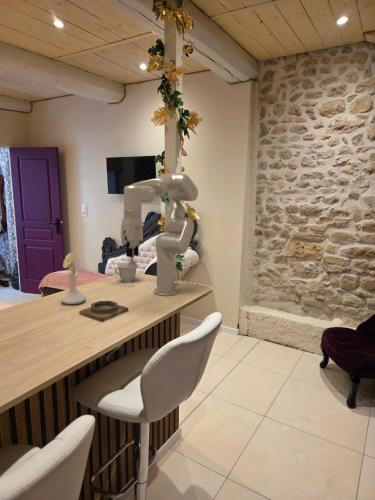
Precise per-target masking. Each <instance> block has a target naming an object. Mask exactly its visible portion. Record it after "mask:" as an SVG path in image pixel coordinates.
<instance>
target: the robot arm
mask: <svg viewBox="0 0 375 500" xmlns="http://www.w3.org/2000/svg"><path fill="white" fill-rule="evenodd" d="M166 194H167V198H168V201H169V207H170V208H169V211H168V215H167V217H166V220H165V223H164V226H163V230H164V232H165V233H160V234H159V235H157V236H156V238H155V249H156V288H154V289H153V294H155V295H157V296H162V297H163V296H167V297H168V296H169V297H170V296H173V295H176V294H178V289H176V287H178V286H179V284H180V283H179V282H178V281H177V282H176V260H175V256H174V255H173V254H177V255H183V254H186V252H187V251H188V249H189V245H190V243H191V240H192V236H193V234H194V229H195V223H194V221H193V219H192V218H190V217H185V214H186V209H185V206H184V205H183V203H182V202H194V201H196V200H197V199H198V196H199V189H198V186H196V184H195V183H194V181H193V180H192V179H191V178H190V176H189V175H187V174H186V173H180V172H179V173H177V172H176V173H175V172H174V173H173V172H172V173H171V172H169V173H166V174H163V175H161V176H159V177H155V178H152V179H147V180H141V181H138V182H137V181H136V182H134V183H132V184H129V185H125V186H124V188H123V217H122V221H121V225H120V240H121V241H120V243H121V244H122V245H124V247H125V256H126V257H127V258H131V257H133V255H134V257H138V256H139V255H140V254H139V251H140V250H139V249H140V245H141V243H142V242H143V240H144V237H143V235H144V233H143V232H144V227H143V219H142V204H150V203H152V202H154V201H155V200H156V197H159V196H163V195H166ZM134 228H141V229H140V239H139V242H138V244H137V246H136V247H135V248H134V254H133V248H132V241H133V238H134V231H135V230H134ZM127 240H128V241H127ZM128 242H129V243H128Z"/></svg>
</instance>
